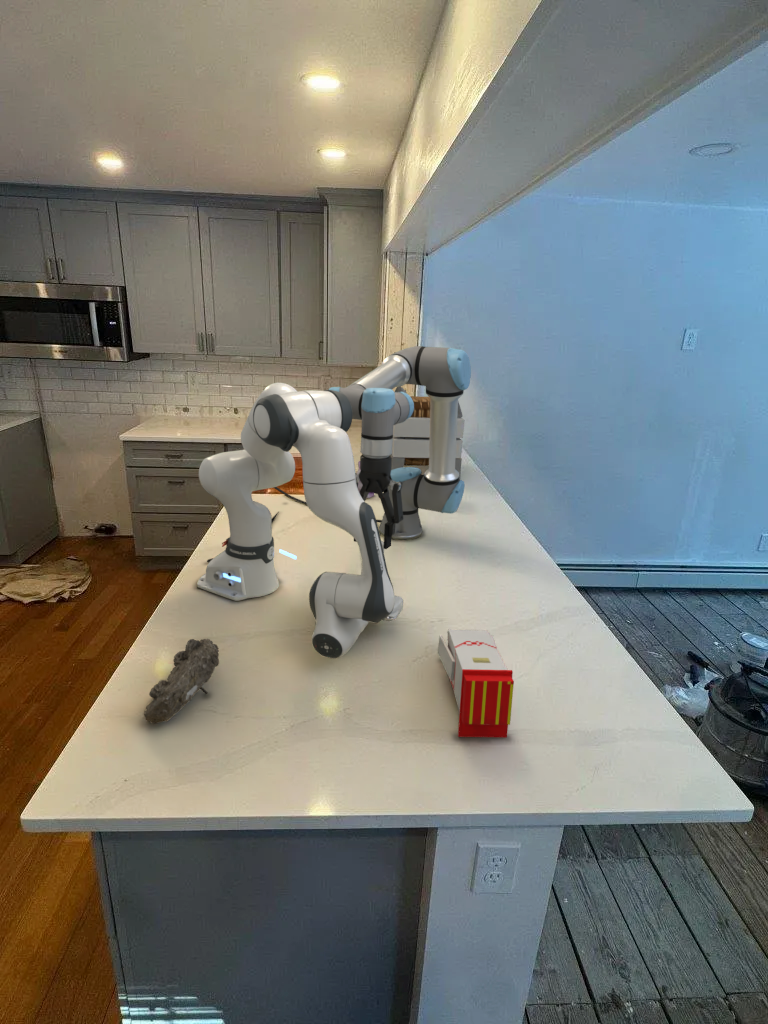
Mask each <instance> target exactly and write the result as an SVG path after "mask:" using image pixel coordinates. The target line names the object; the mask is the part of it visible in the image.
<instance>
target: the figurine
mask: <svg viewBox="0 0 768 1024" xmlns="http://www.w3.org/2000/svg"><path fill="white" fill-rule="evenodd" d="M357 468H358V470H357V472H356V473H357V474H360V471H361V470H360V460H358V462H357ZM362 486H363V485H362V483H361V481H360V480H359V482H358V491H359V493H360V490H361V488H362ZM374 496H375V493H373V492H369V494H368V496H367V498H366V499H370V498H373V497H374Z"/></svg>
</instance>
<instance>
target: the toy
mask: <svg viewBox="0 0 768 1024" xmlns="http://www.w3.org/2000/svg"><path fill="white" fill-rule="evenodd" d="M446 640H447V643H446V641H445V639H444V636H443V635H442V634H439V637H438V646H437V656H438V657H439V659H440V661H441V663H442V666H443V668H444V670H445V672H446V674H447V677H448V679H449V681H450V684H451V687H452V690H453V693H454V697H455V701H456V705H457V708H458V711H459V714H458V715H459V716H458V730H457V731H458V732H457V737H458V738H508V731H509V726H510V725H511V717H512V707H513V697H514V696H513V695H514V684H515V680H514V679H513V673H514V671H513V670H512V669H508V667H507V665H506V662H505V661H504V659H503V658H502V655H501V653H500V651H499V649H498V647H497V643H496V639H495V637H494V635H493V634H491V632H490V631H489V629H467V628H466V629H465V628H463V629H461V628H460V629H459V628H448V630H447V639H446Z"/></svg>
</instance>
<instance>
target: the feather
mask: <svg viewBox="0 0 768 1024" xmlns="http://www.w3.org/2000/svg"><path fill="white" fill-rule="evenodd" d="M278 514H279V512H277V513H276V514H275V515H274V516H272V524H273V523H274V521H275V520H276V518H277V516H278Z"/></svg>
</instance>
